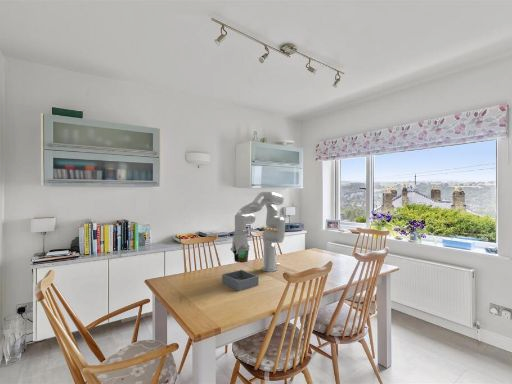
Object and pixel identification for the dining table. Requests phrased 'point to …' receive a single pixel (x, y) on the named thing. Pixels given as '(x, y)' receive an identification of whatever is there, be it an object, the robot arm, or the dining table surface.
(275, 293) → the dining table surface
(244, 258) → the food container
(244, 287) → the crate
